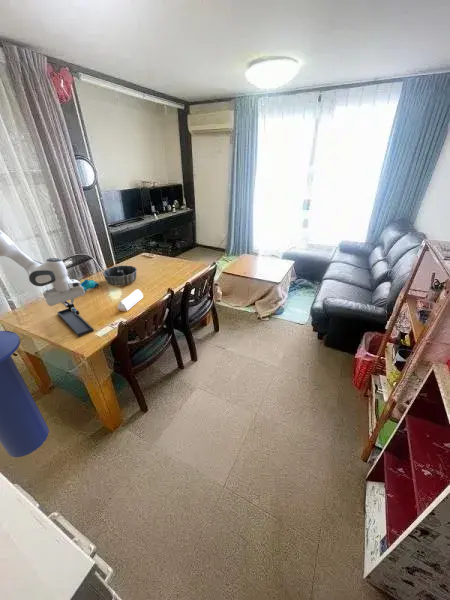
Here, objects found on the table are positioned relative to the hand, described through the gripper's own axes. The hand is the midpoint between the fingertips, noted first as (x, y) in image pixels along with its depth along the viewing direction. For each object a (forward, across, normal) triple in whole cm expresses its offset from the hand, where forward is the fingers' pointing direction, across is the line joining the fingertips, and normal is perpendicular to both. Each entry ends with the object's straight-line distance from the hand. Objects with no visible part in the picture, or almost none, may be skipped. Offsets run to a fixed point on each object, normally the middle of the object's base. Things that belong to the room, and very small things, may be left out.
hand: (69, 306), depth 153 cm
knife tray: (+12, 0, 0) cm, 12 cm away
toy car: (+12, +24, +45) cm, 52 cm away
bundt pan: (+12, +50, +36) cm, 63 cm away
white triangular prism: (+12, +36, -4) cm, 38 cm away
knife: (+2, 0, 0) cm, 2 cm away
